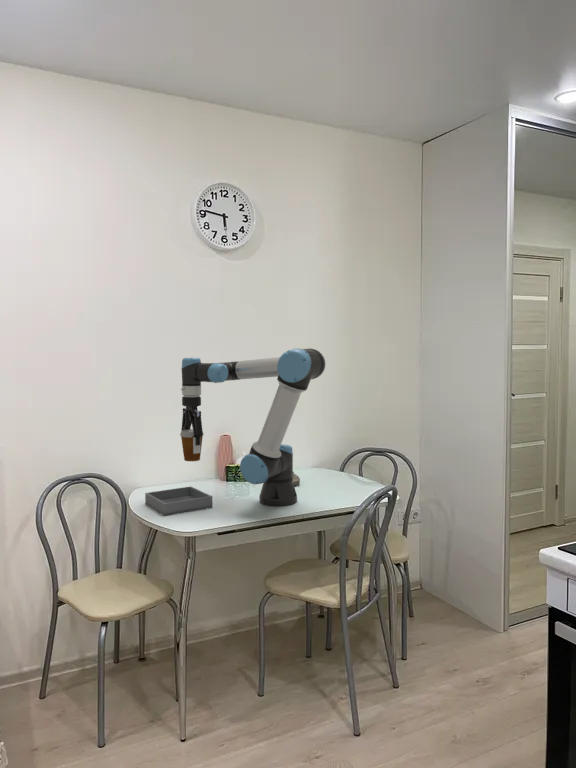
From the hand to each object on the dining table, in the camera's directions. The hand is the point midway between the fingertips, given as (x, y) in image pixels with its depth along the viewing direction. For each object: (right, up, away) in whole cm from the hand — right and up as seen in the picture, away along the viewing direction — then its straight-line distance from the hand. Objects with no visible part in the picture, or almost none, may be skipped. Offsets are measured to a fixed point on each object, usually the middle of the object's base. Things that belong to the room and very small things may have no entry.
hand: (192, 451), depth 249 cm
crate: (-4, -20, -9) cm, 23 cm away
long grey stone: (+33, -18, +37) cm, 53 cm away
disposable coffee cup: (0, -4, 0) cm, 4 cm away
